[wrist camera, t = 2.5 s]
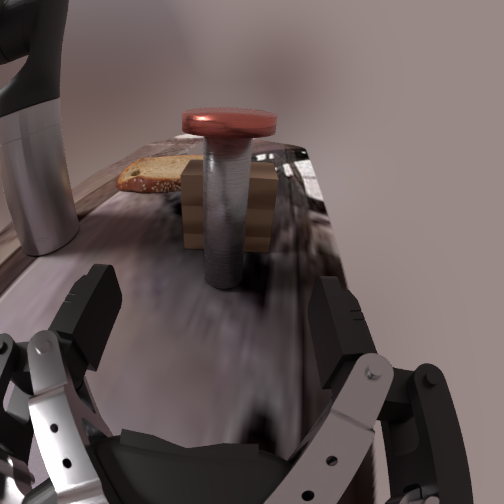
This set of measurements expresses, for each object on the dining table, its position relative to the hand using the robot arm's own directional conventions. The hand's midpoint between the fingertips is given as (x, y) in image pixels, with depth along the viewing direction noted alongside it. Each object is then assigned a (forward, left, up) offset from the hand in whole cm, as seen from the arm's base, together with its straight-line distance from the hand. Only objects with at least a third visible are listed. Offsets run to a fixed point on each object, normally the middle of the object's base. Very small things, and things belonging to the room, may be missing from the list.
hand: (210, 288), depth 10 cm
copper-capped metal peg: (-13, +7, -9) cm, 18 cm away
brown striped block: (-16, +9, -10) cm, 21 cm away
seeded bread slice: (-38, +10, -10) cm, 41 cm away
